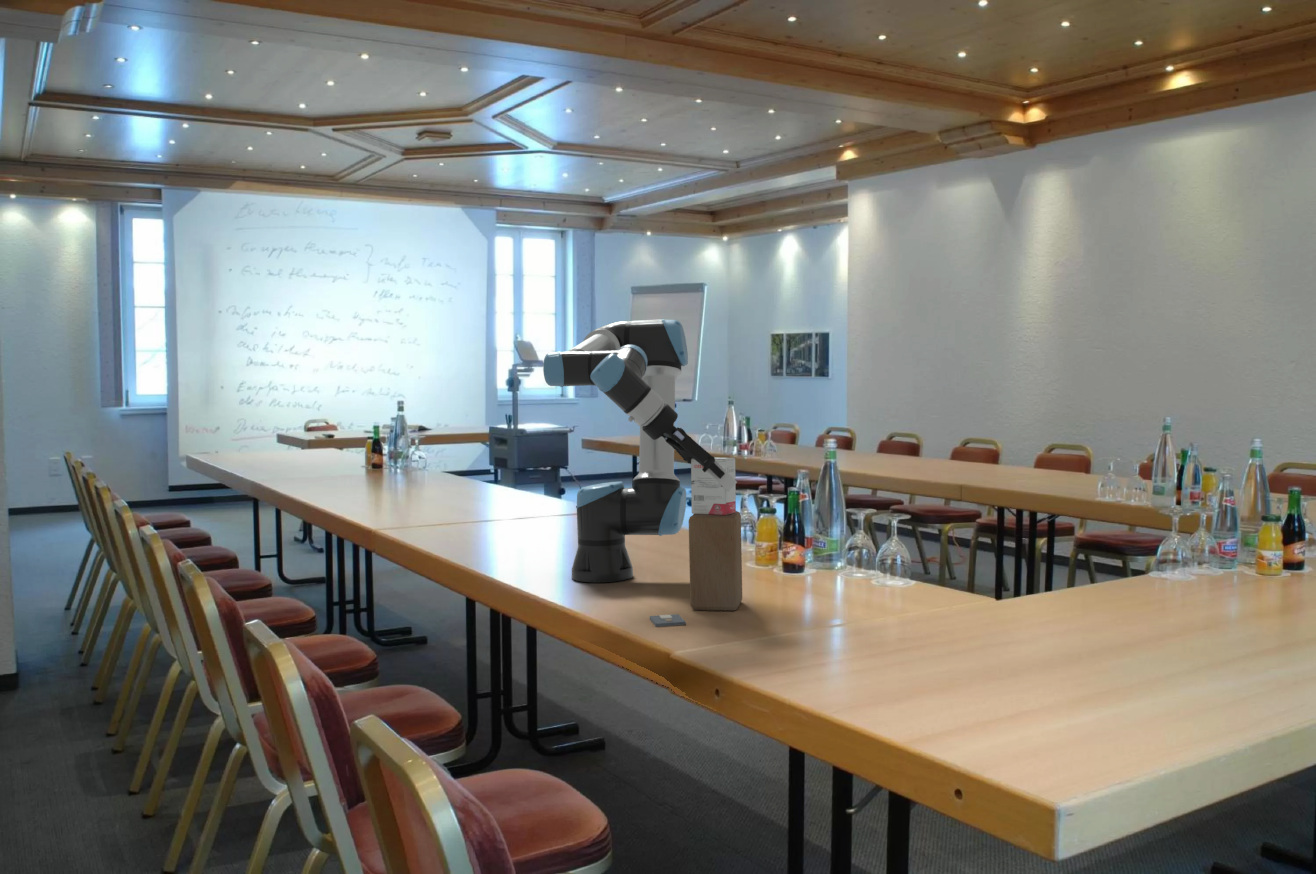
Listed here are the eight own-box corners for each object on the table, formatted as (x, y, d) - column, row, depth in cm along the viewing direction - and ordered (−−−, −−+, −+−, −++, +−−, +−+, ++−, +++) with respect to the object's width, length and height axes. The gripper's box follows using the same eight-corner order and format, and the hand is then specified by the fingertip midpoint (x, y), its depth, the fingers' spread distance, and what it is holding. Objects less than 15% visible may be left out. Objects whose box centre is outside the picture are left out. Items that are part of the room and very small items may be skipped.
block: (737, 612, 220) (735, 516, 219) (689, 611, 222) (687, 516, 221) (743, 601, 230) (741, 510, 229) (697, 600, 232) (695, 510, 231)
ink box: (737, 512, 225) (736, 456, 224) (726, 515, 221) (725, 458, 220) (701, 510, 230) (700, 456, 229) (690, 513, 225) (689, 457, 225)
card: (649, 618, 216) (649, 615, 216) (678, 616, 217) (678, 613, 217) (656, 626, 209) (655, 622, 209) (685, 624, 210) (685, 620, 210)
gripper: (630, 425, 233) (698, 490, 237) (652, 431, 209) (727, 503, 212) (654, 400, 234) (721, 466, 238) (677, 403, 209) (752, 475, 213)
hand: (724, 483), depth 225 cm, fingers open, 13 cm apart
